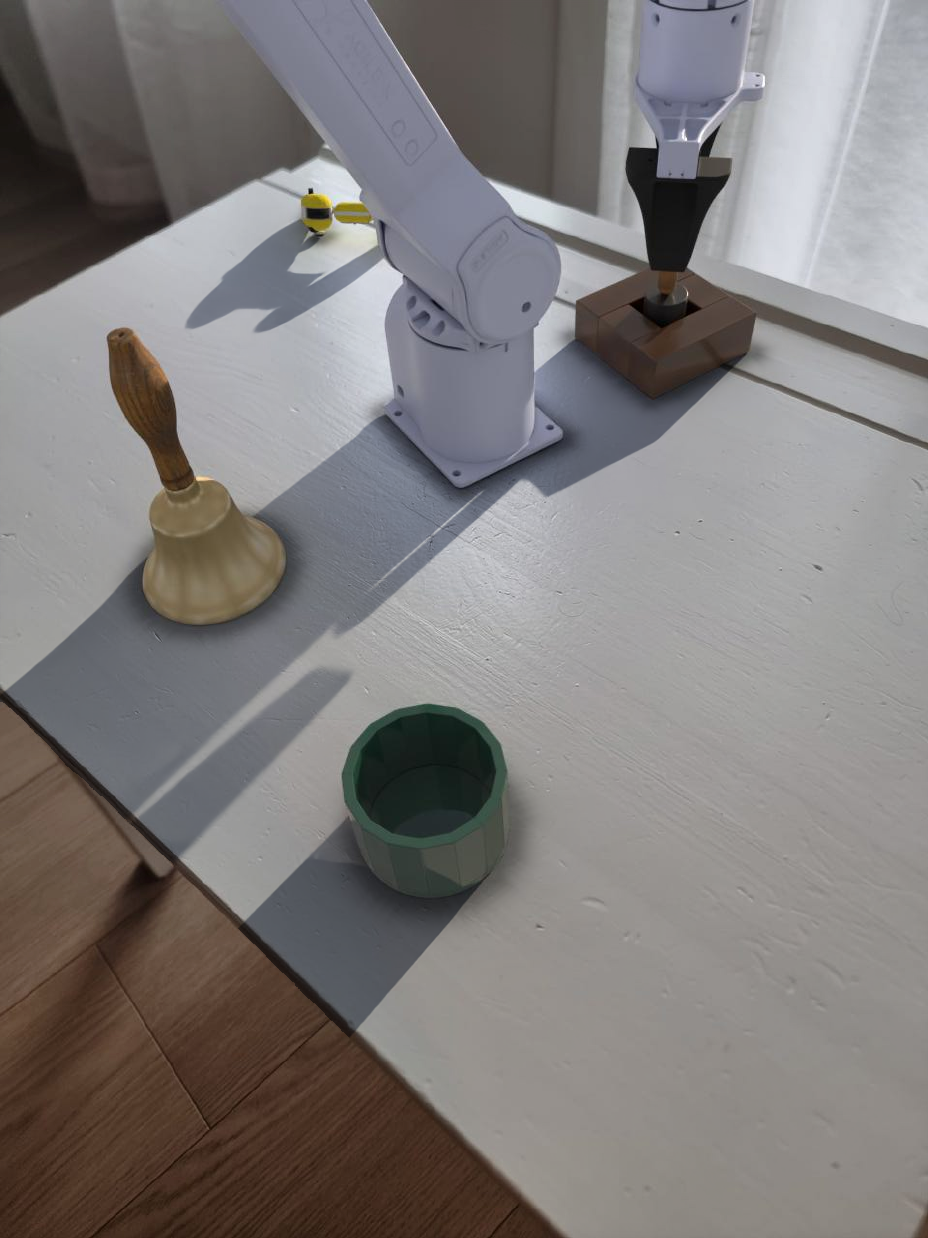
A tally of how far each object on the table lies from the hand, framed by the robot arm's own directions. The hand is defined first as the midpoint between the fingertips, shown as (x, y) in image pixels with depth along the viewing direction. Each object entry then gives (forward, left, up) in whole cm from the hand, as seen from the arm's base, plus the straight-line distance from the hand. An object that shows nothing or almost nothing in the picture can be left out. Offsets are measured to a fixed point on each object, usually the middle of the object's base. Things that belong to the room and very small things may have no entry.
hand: (673, 233), depth 62 cm
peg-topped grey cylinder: (0, 0, -8) cm, 8 cm away
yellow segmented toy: (-26, -9, -8) cm, 29 cm away
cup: (+22, -32, -8) cm, 40 cm away
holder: (0, 0, -8) cm, 8 cm away
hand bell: (+1, -34, -8) cm, 35 cm away
